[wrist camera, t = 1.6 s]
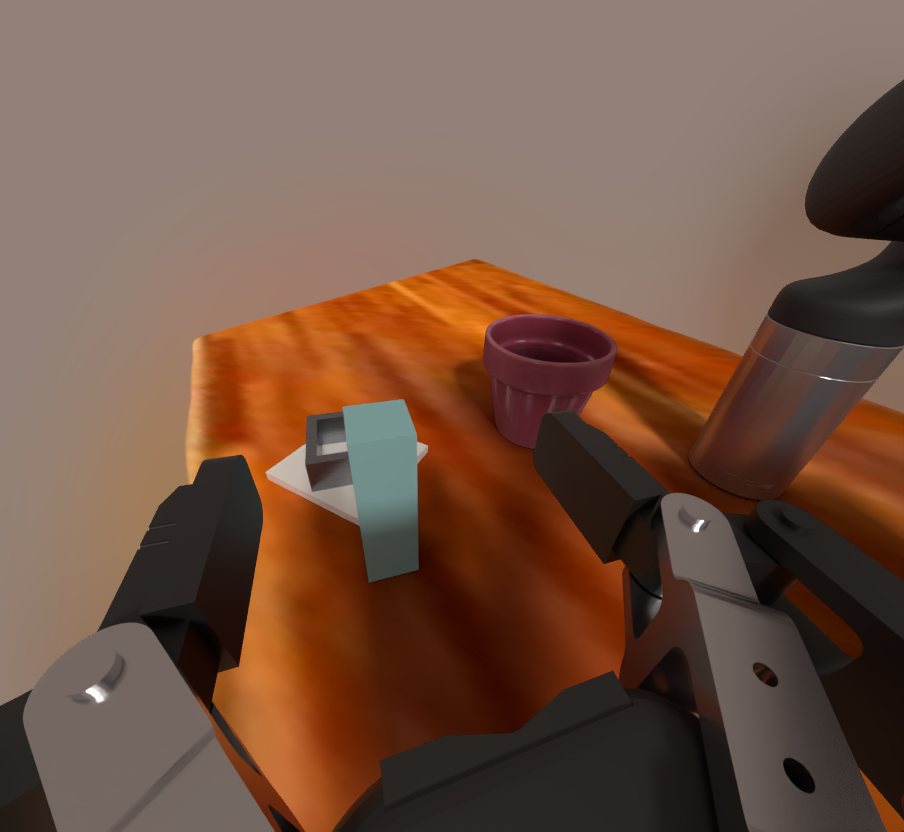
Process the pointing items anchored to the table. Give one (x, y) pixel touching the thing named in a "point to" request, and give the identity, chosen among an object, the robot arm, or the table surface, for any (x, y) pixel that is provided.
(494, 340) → the plant pot
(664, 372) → the table surface
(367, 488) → the teal peg
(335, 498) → the base board
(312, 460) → the metal collar
